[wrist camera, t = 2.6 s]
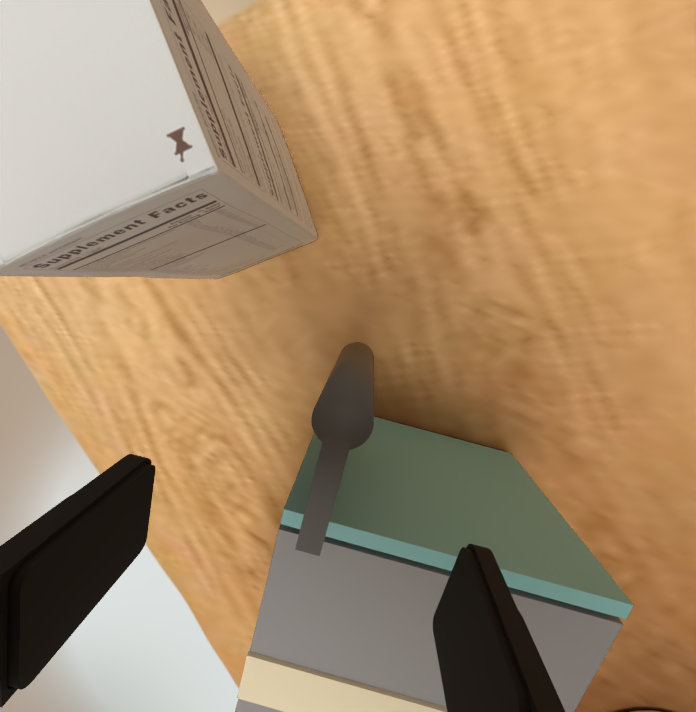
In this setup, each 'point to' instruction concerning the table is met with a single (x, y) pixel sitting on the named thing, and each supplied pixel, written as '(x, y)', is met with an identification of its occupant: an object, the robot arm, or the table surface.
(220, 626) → the table surface
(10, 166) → the supplement box
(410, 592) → the carton
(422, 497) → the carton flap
